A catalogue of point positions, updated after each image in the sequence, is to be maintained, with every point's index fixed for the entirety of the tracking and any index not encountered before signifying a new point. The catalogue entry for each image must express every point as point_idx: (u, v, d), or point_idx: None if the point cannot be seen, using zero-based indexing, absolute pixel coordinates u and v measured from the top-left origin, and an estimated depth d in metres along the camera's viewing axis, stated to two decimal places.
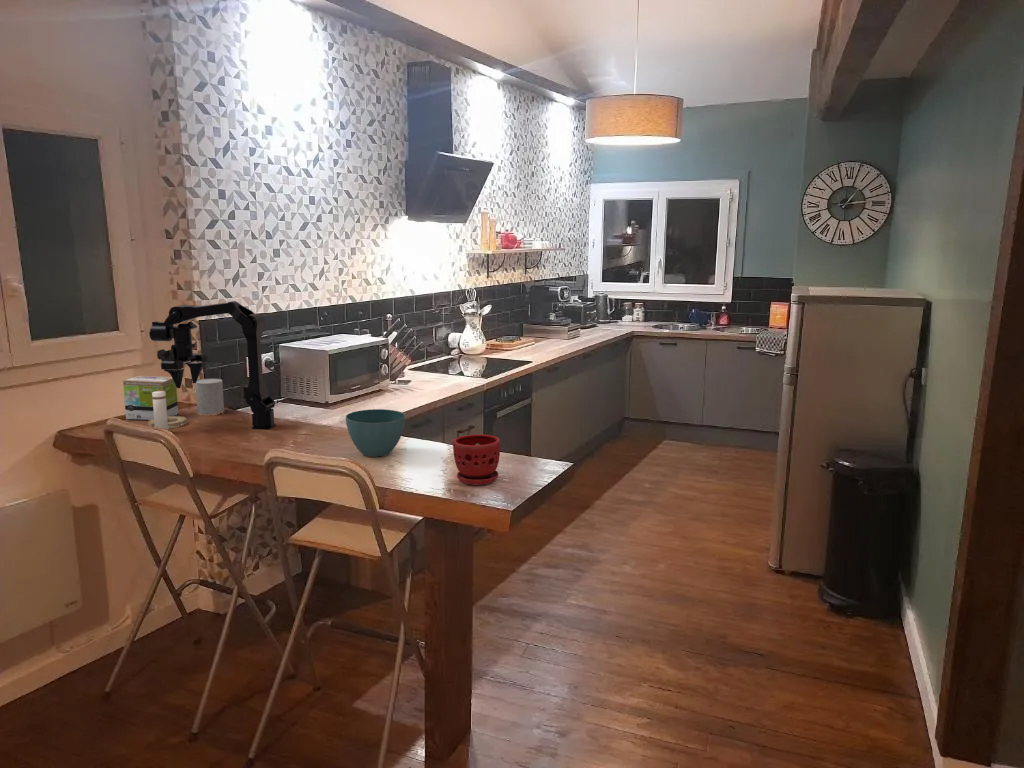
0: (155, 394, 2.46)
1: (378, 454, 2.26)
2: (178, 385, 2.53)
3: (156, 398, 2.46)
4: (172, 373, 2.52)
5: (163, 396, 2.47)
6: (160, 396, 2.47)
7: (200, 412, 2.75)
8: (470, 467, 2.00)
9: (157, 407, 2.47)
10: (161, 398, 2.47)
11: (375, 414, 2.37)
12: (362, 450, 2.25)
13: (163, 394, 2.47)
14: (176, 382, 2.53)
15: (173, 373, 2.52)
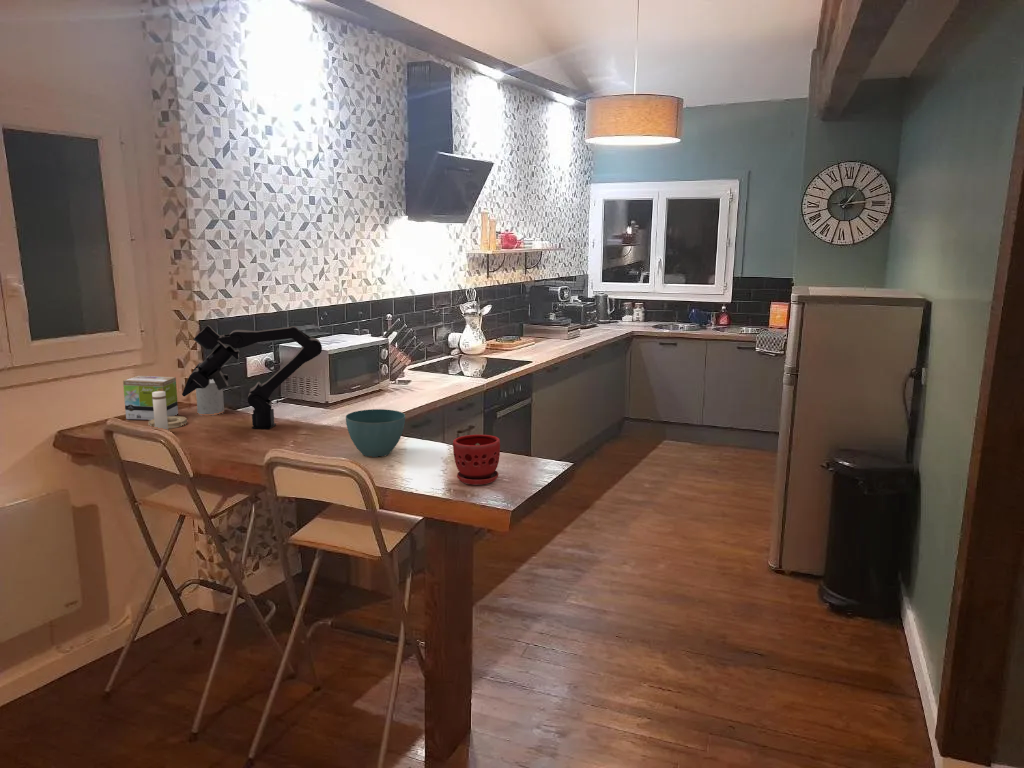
0: (155, 394, 2.46)
1: (378, 454, 2.26)
2: None
3: (156, 398, 2.46)
4: None
5: (163, 396, 2.47)
6: (160, 396, 2.47)
7: (200, 412, 2.75)
8: (470, 467, 2.00)
9: (157, 407, 2.47)
10: (161, 398, 2.47)
11: (375, 414, 2.37)
12: (362, 450, 2.25)
13: (163, 394, 2.47)
14: None
15: None
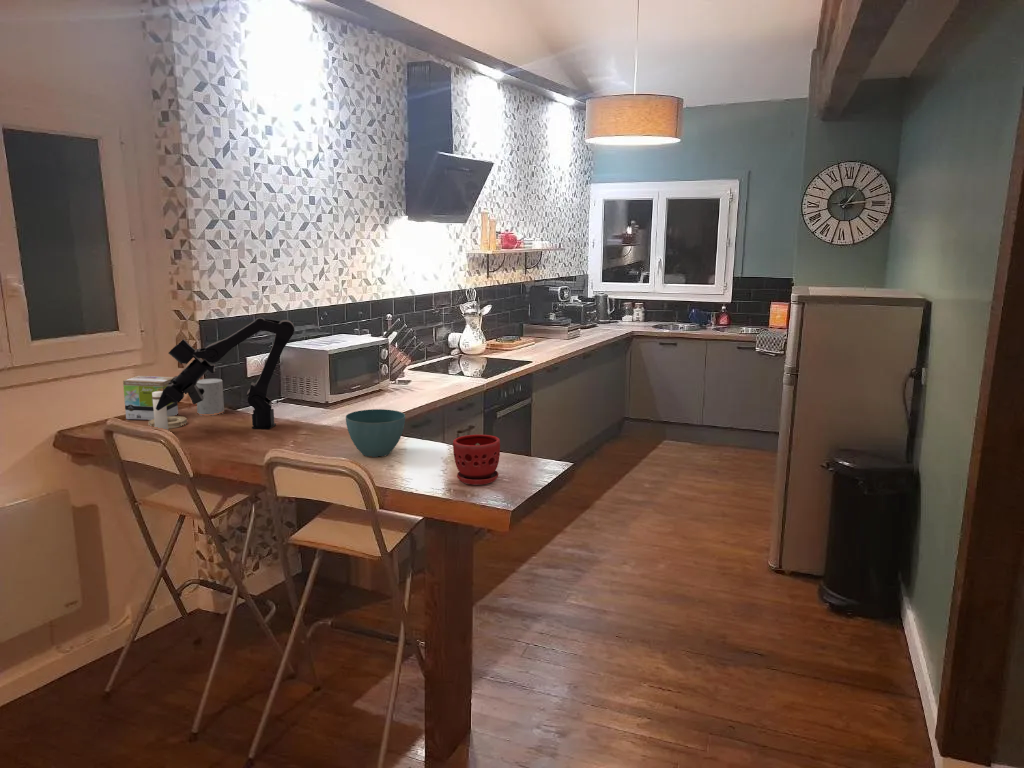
0: (155, 394, 2.46)
1: (378, 454, 2.26)
2: None
3: (156, 398, 2.46)
4: None
5: None
6: (160, 396, 2.47)
7: (200, 412, 2.75)
8: (470, 467, 2.00)
9: None
10: None
11: (375, 414, 2.37)
12: (362, 450, 2.25)
13: None
14: None
15: None
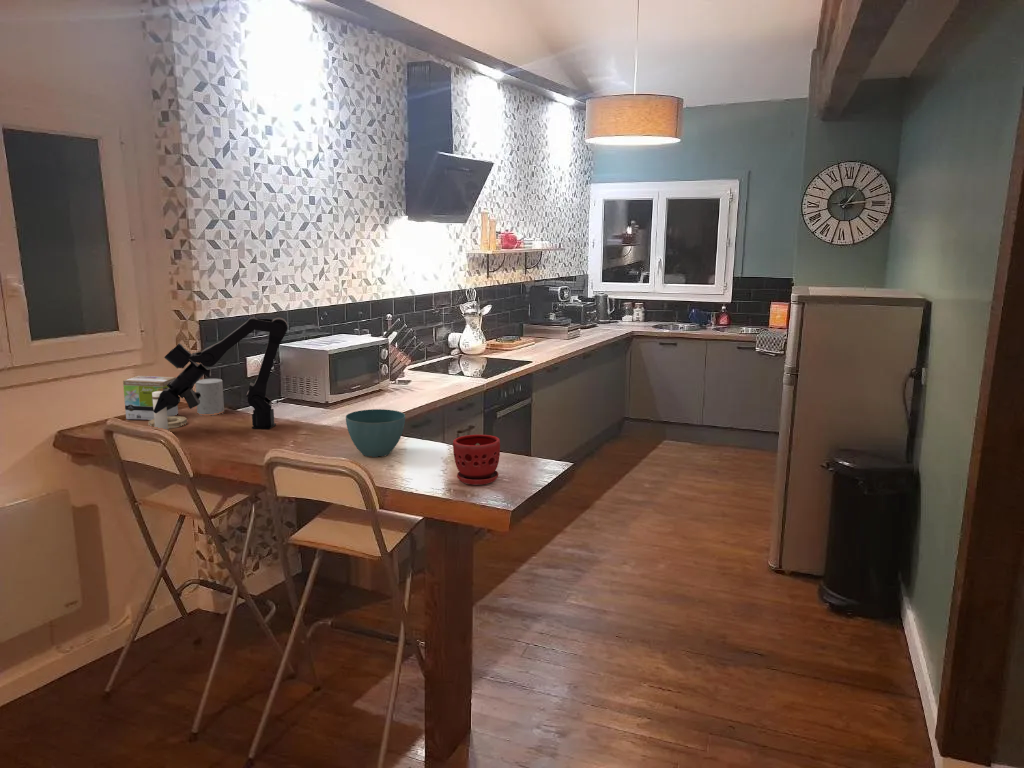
0: (155, 394, 2.46)
1: (378, 454, 2.26)
2: None
3: (156, 398, 2.46)
4: None
5: None
6: None
7: (200, 412, 2.75)
8: (470, 467, 2.00)
9: None
10: None
11: (375, 414, 2.37)
12: (362, 450, 2.25)
13: None
14: None
15: None
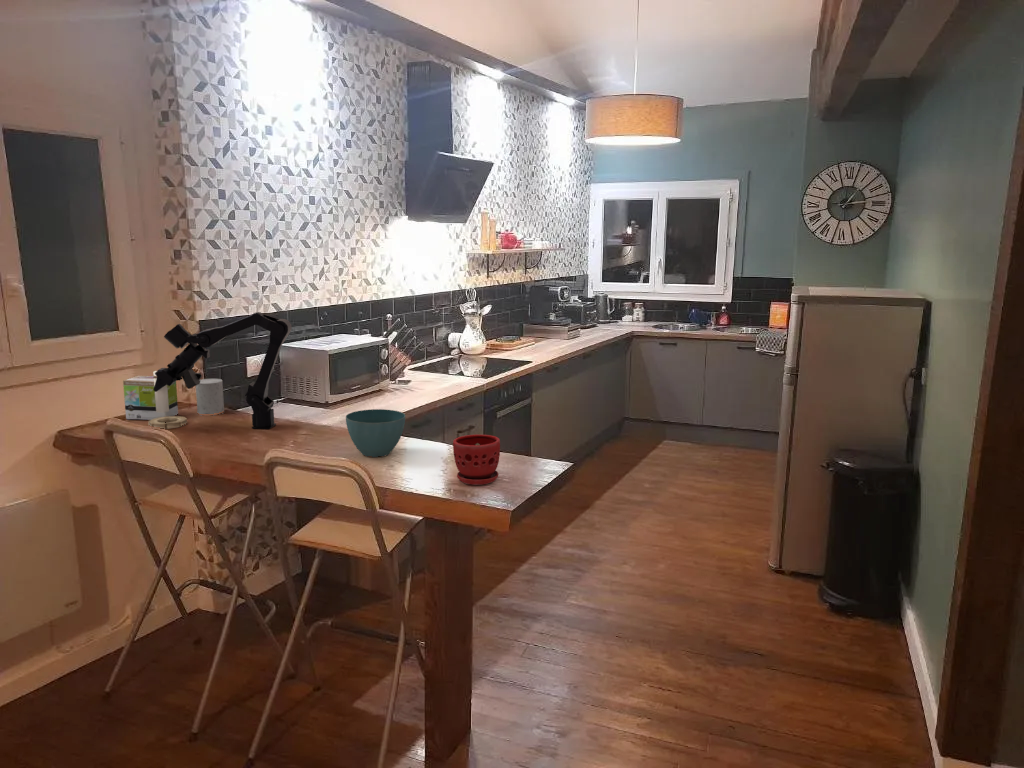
0: None
1: (378, 454, 2.26)
2: None
3: (156, 377, 2.51)
4: None
5: None
6: None
7: (200, 412, 2.75)
8: (470, 467, 2.00)
9: None
10: None
11: (375, 414, 2.37)
12: (362, 450, 2.25)
13: None
14: None
15: None
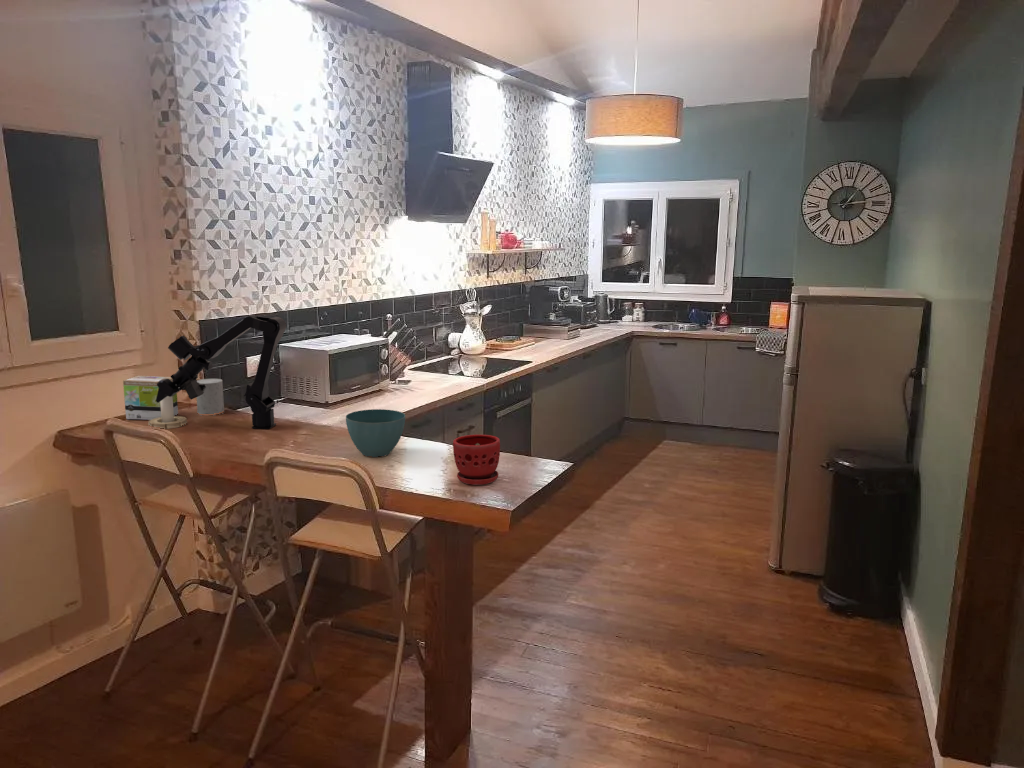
0: None
1: (378, 454, 2.26)
2: None
3: None
4: None
5: None
6: None
7: (200, 412, 2.75)
8: (470, 467, 2.00)
9: (162, 400, 2.58)
10: None
11: (375, 414, 2.37)
12: (362, 450, 2.25)
13: None
14: None
15: None
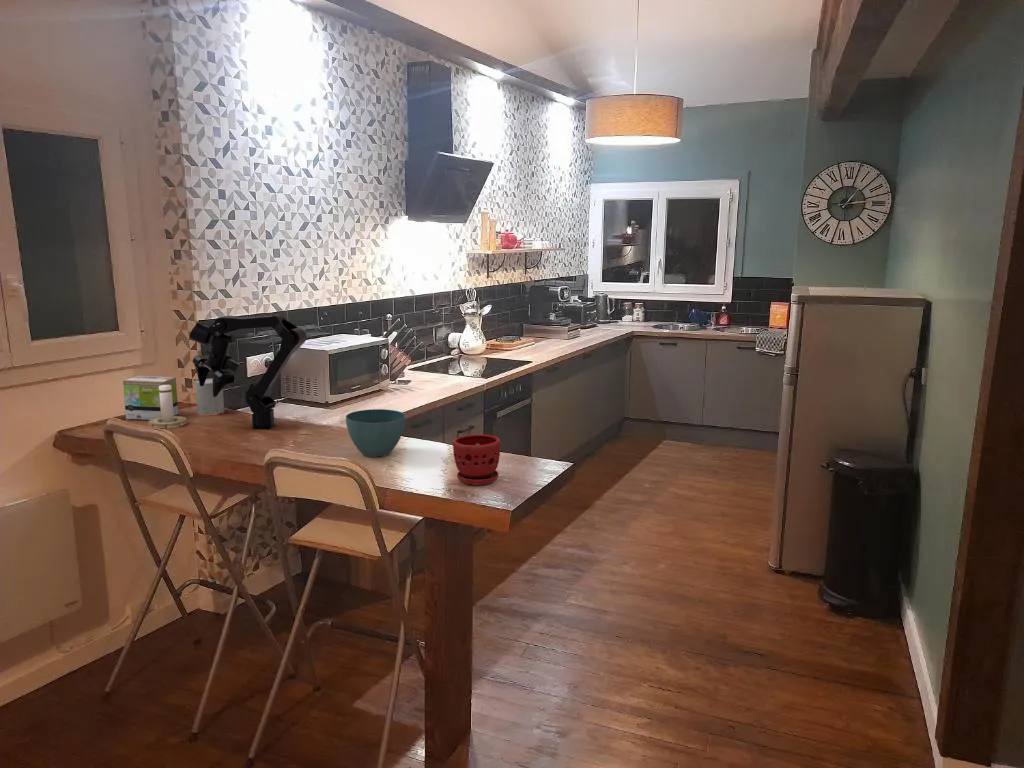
0: (160, 387, 2.57)
1: (378, 454, 2.26)
2: None
3: (161, 391, 2.57)
4: None
5: (167, 390, 2.57)
6: (165, 390, 2.57)
7: (200, 412, 2.75)
8: (470, 467, 2.00)
9: (162, 400, 2.57)
10: (165, 392, 2.57)
11: (375, 414, 2.37)
12: (362, 450, 2.25)
13: (168, 388, 2.57)
14: None
15: None
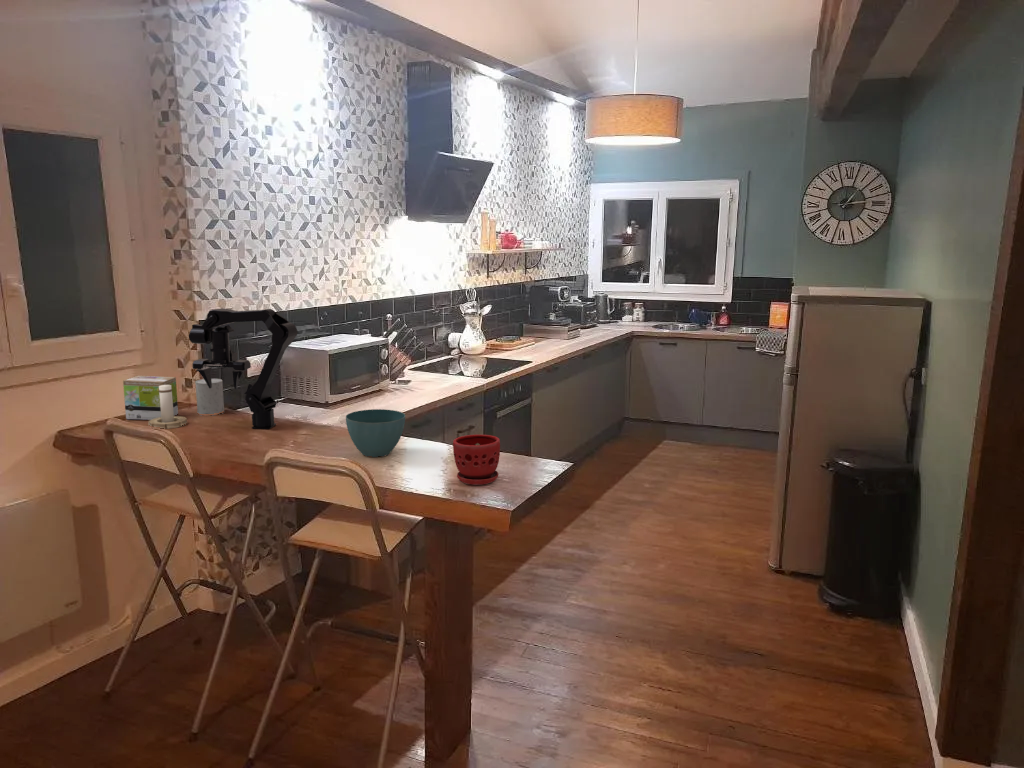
0: (160, 387, 2.57)
1: (378, 454, 2.26)
2: None
3: (161, 391, 2.57)
4: None
5: (167, 390, 2.57)
6: (165, 390, 2.57)
7: (200, 412, 2.75)
8: (470, 467, 2.00)
9: (162, 400, 2.57)
10: (165, 391, 2.57)
11: (375, 414, 2.37)
12: (362, 450, 2.25)
13: (168, 388, 2.57)
14: None
15: None
